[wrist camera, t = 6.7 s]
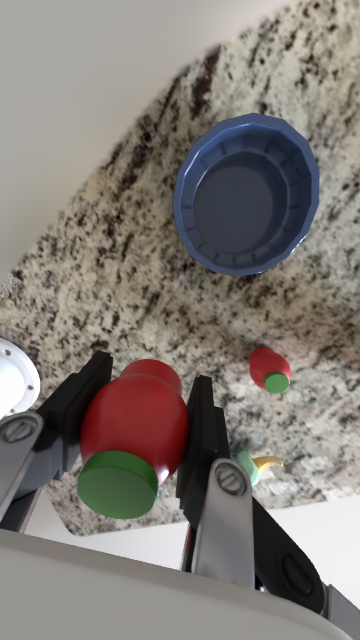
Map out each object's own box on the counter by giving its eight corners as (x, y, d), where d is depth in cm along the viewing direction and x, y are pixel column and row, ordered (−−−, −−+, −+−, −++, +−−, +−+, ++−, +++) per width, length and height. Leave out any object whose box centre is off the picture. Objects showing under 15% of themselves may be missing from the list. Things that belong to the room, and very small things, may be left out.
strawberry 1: (106, 408, 12) (45, 520, 7) (115, 340, 10) (45, 425, 6) (181, 426, 12) (170, 549, 7) (201, 360, 10) (203, 462, 6)
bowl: (168, 256, 23) (162, 260, 19) (191, 128, 20) (190, 97, 15) (270, 279, 24) (286, 287, 19) (314, 156, 20) (346, 133, 15)
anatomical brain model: (312, 539, 25) (210, 557, 26) (279, 465, 34) (203, 481, 35) (305, 498, 23) (194, 520, 24) (271, 430, 31) (190, 449, 33)
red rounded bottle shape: (249, 376, 28) (260, 404, 23) (241, 348, 27) (251, 371, 22) (283, 368, 27) (301, 396, 22) (277, 339, 26) (295, 361, 21)
